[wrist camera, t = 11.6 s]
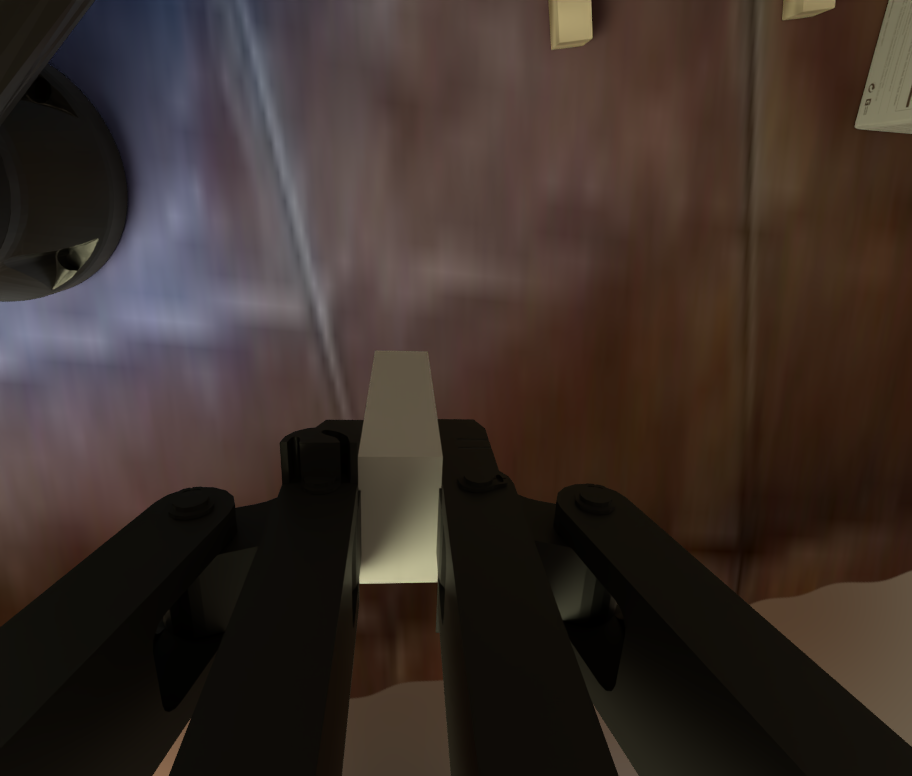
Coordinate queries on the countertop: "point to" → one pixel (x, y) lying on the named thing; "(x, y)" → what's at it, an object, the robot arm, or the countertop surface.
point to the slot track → (575, 18)
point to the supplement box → (890, 75)
